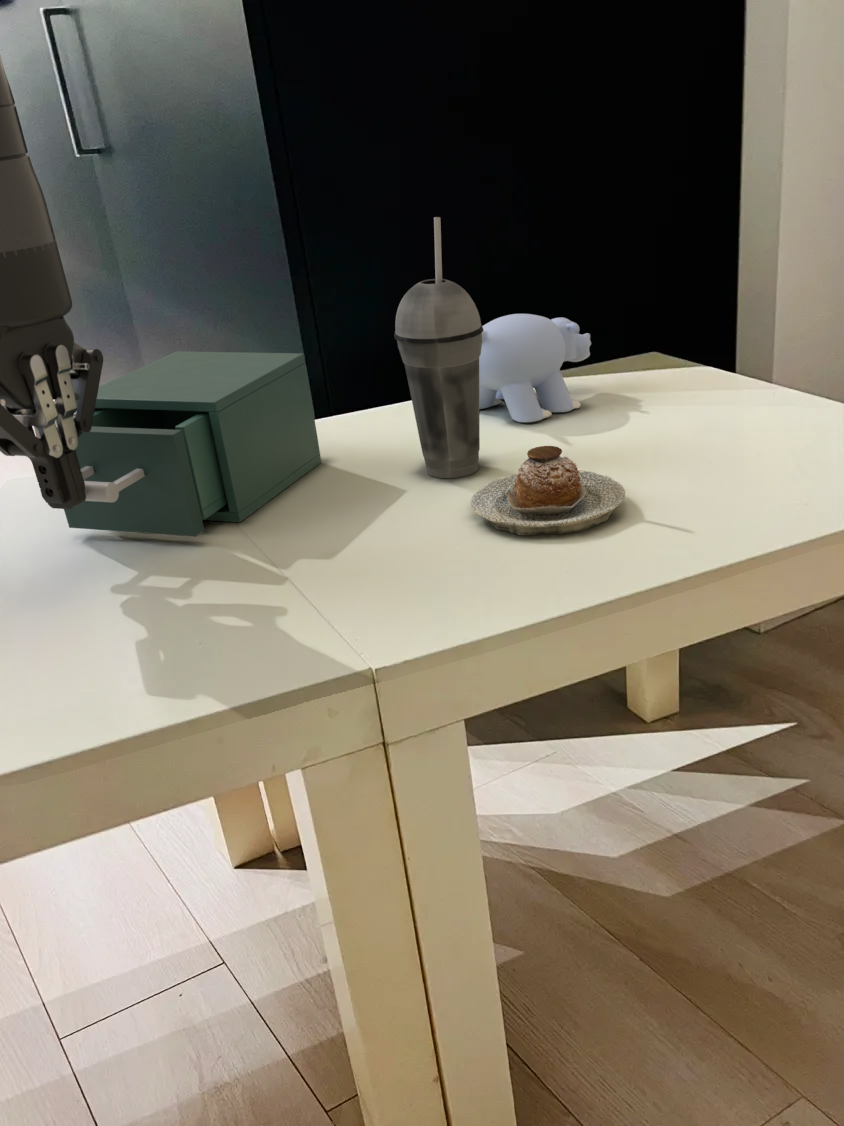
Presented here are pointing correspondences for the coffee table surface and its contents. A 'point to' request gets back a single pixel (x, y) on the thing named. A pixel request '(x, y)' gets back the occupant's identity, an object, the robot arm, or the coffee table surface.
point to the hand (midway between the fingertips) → (67, 504)
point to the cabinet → (234, 416)
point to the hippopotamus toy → (529, 364)
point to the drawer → (148, 472)
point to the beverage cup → (442, 369)
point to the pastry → (548, 496)
